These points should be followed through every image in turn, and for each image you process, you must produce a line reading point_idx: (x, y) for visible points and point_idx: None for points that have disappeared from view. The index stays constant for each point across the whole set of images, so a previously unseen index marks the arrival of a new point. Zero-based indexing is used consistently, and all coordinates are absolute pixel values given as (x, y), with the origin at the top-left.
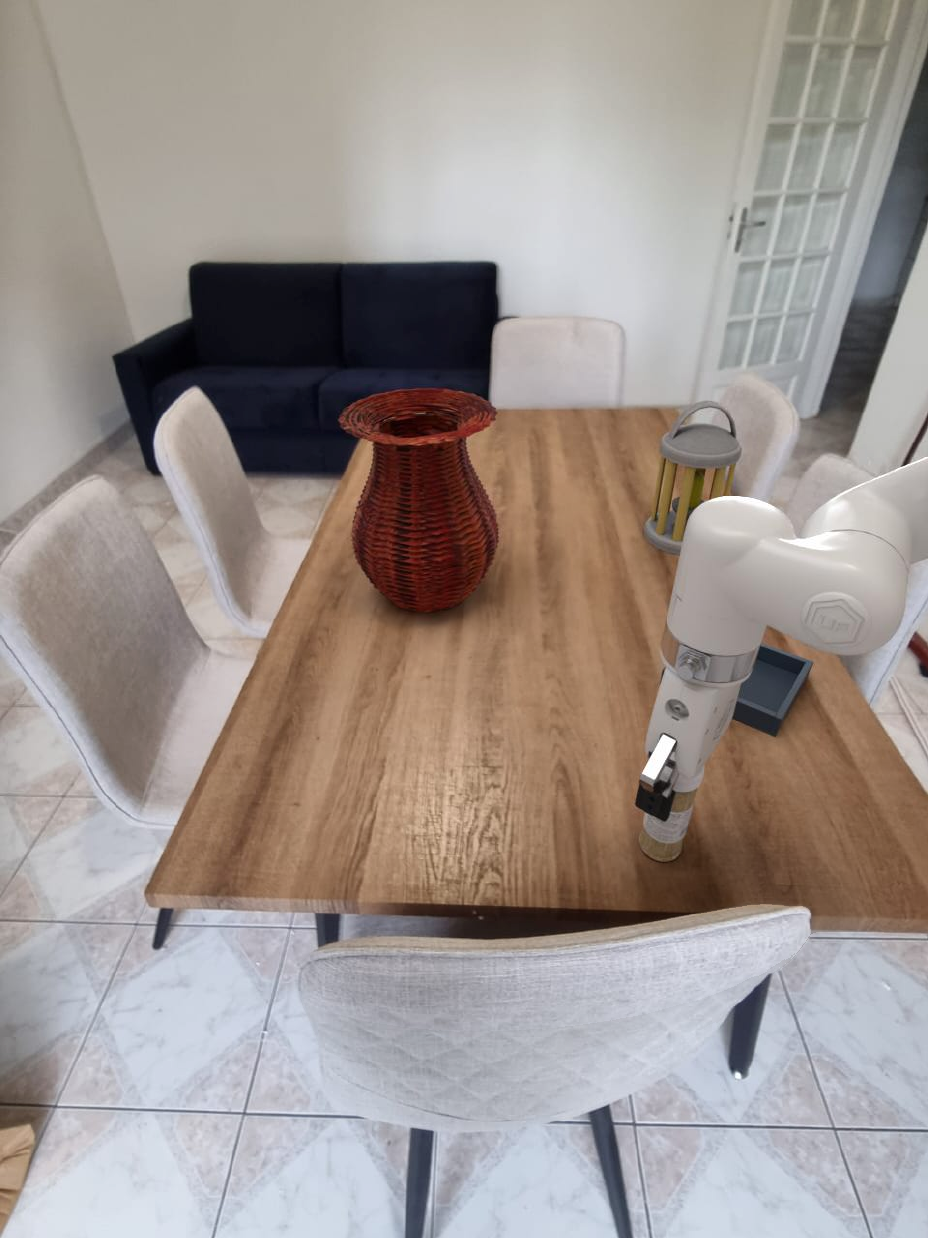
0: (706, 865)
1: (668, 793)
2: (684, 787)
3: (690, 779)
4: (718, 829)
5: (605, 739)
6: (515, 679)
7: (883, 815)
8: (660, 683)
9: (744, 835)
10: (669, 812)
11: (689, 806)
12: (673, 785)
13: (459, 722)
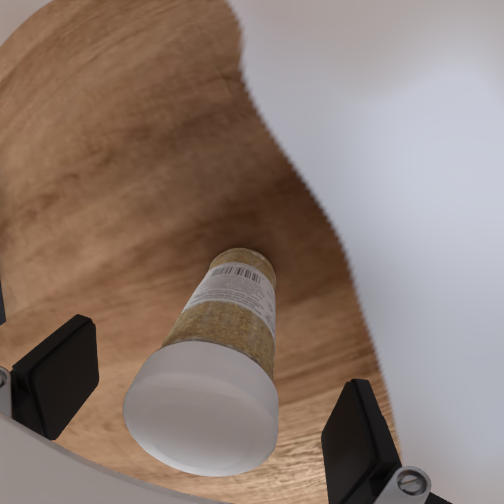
0: (246, 202)
1: (429, 489)
2: (271, 396)
3: (256, 410)
4: (167, 198)
5: (105, 376)
6: (100, 458)
7: (67, 19)
8: (2, 323)
9: (160, 158)
10: (370, 399)
11: (244, 313)
12: (401, 498)
13: (186, 491)
